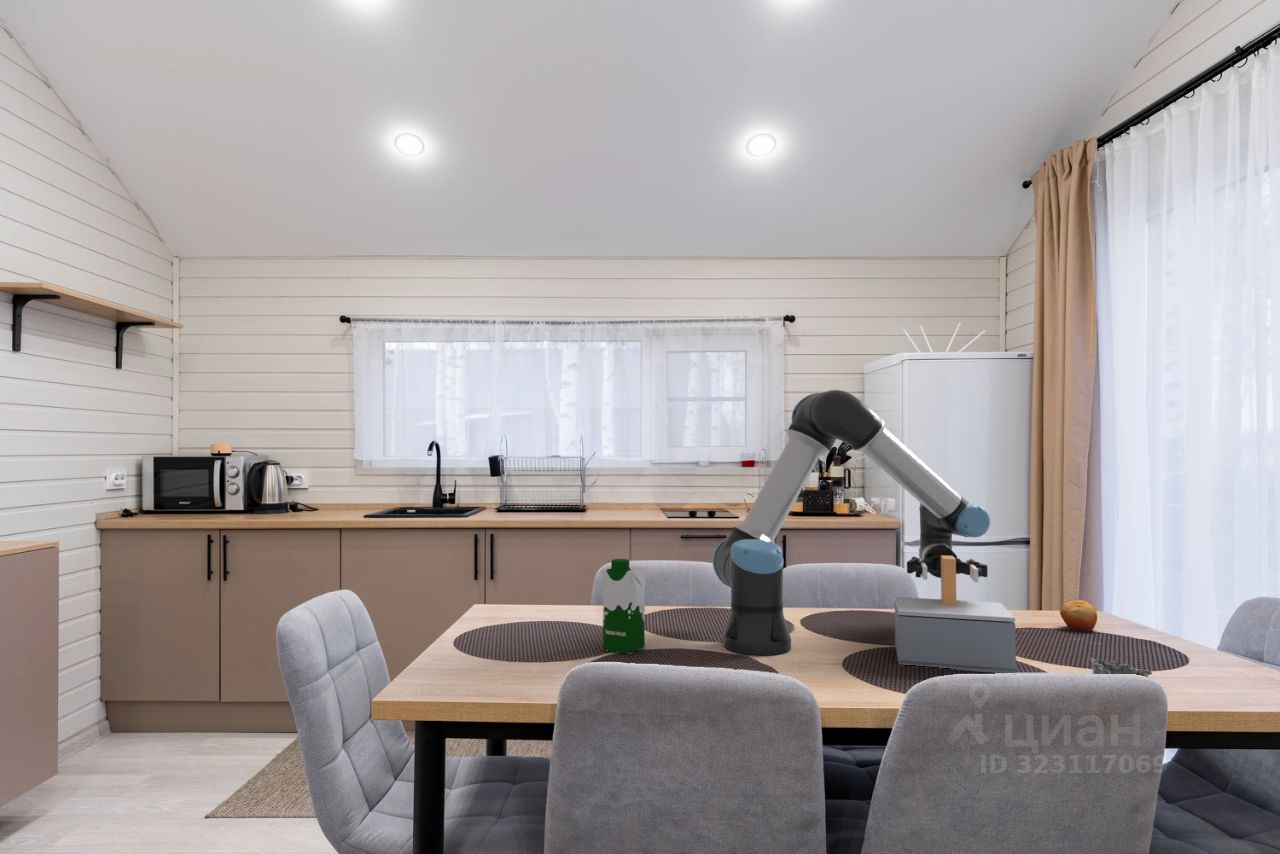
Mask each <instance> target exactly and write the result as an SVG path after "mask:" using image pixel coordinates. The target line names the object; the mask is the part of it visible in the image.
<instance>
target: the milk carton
mask: <svg viewBox="0 0 1280 854" xmlns="http://www.w3.org/2000/svg"><path fill="white" fill-rule="evenodd" d="M646 577H647V567H643V566H631V565H630V560H629V559H627V558H626V559H625V558H614V559H612V560H611V565H610V566H609V567H605V568H603V569H601V578H602V651H603V650H608V651H611V652H610V653H614V652H619V653H618V654H621V653H633V652H635V651H637V652H639V651H640V650H639V649H641V648H642V649H644V648H645V647H646V646H645V645H646V644H645V643H646V641H645V638H646V637H645V635H646V634H645V630H646V629H645V624H646V623H645V619H646V618H645V615H646V614H645V613H646V610H645V608H646V605H645V600H646V598H645V595H646V593H645V592H646V591H645V590H646V589H645V588H646V587H645V586H646ZM643 647H644V648H643ZM642 649H641V650H642ZM638 650H639V651H638ZM635 653H636V652H635Z"/></svg>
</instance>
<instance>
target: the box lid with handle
mask: <svg viewBox="0 0 1280 854" xmlns="http://www.w3.org/2000/svg"><path fill="white" fill-rule="evenodd" d="M940 586H941V587H940V589H941V590H940V594H941V595H940V597H941V599H940V598H939V599H938V598H924V597H923V598H921V597H902V596H901V597H900V596H895V597H894V604H895V603H896V608H897V612H898V615H909V616H926V617H942V618H958V619H975V620H991V621H1008V622H1014V623H1016V617H1015V616H1014V615H1013V614H1012V613H1011V612H1010V611H1009V610H1008V609H1007V608H1006V606H1005V605H1003V603H1001V602H998V601H997V602H993V601H975V600H974V601H973V600H961V599H960V600H958V599H957V574H956V559H955V558H954V557H953V556H945V555H941V578H940Z"/></svg>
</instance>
